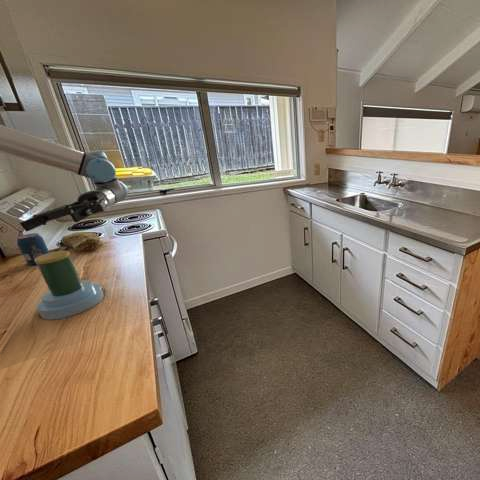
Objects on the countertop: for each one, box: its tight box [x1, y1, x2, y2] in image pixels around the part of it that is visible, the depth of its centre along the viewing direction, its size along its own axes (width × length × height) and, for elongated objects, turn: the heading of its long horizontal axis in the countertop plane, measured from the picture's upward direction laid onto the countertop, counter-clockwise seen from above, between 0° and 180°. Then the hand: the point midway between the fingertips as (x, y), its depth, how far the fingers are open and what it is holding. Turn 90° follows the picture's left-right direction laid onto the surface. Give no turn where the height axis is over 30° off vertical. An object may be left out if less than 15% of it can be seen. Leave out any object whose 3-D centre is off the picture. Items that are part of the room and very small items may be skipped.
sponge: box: [60, 231, 102, 252], centre depth 118 cm, size 13×8×20 cm
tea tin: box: [34, 250, 82, 296], centre depth 72 cm, size 7×7×11 cm
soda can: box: [16, 232, 50, 266], centre depth 102 cm, size 7×7×12 cm
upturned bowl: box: [36, 279, 105, 321], centre depth 75 cm, size 14×14×5 cm
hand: (48, 222), depth 73 cm, fingers open, 13 cm apart
